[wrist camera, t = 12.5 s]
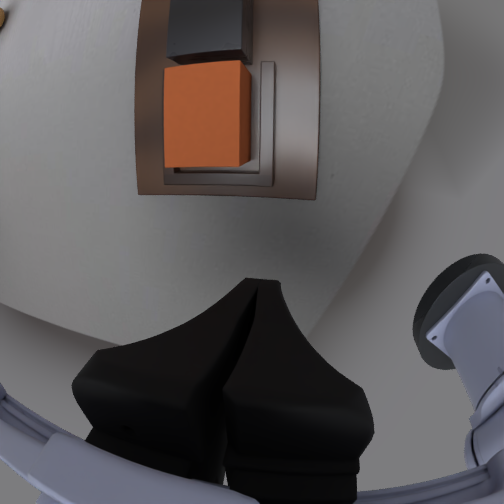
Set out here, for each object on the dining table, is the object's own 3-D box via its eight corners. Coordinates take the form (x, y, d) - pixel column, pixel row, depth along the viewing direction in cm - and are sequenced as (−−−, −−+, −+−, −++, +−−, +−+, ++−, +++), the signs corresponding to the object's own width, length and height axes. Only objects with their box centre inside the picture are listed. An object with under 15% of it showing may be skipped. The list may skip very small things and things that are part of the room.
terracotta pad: (250, 160, 17) (239, 167, 14) (188, 161, 17) (164, 167, 14) (251, 73, 15) (240, 59, 12) (188, 78, 15) (164, 68, 12)
